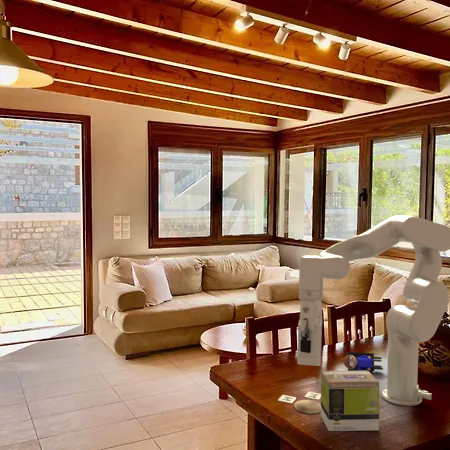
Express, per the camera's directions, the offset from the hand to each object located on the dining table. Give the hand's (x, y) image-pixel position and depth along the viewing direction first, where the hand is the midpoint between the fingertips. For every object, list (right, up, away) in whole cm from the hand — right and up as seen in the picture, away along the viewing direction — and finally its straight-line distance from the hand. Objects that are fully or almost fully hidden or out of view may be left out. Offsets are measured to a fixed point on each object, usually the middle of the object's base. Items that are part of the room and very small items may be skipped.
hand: (309, 348), depth 153 cm
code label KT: (+3, -19, +10) cm, 22 cm away
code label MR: (-6, -19, +7) cm, 21 cm away
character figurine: (+27, -18, +35) cm, 48 cm away
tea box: (+10, -20, -10) cm, 25 cm away
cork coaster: (0, -19, +1) cm, 19 cm away
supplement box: (0, -5, 0) cm, 5 cm away
